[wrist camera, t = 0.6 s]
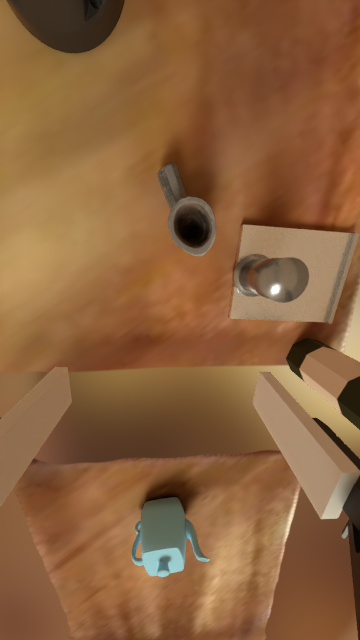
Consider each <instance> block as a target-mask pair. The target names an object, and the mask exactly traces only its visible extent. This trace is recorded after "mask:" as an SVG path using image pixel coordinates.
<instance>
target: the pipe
mask: <svg viewBox="0 0 360 640" xmlns="http://www.w3.org/2000/svg"><path fill="white" fill-rule="evenodd" d="M157 176H158V179H159V182H160V184H161V187H162V189H163V192H164V194H165V197H166V199H167V202H168V204H169V207H170V209H171V212H170V214H169V218H168V228H169V232H170V234H171V237H172V239H173V241H174V242H175V243H176V245H177V246H178V247H179V248H181V249H182V250H184V251H185V252H187V253H189V254H191V255H194V256H198V257H199V256H203V255H204V254H205V253H206V252H207V251H208V250H209V249H210V248H211V246H212V245H213V243H214V240H215V236H216V220H215V216H214V213H213V211H212V209H211V207H210V206H209V205H208V203H207V202H205V201H204V200H202V199H200V198H198V197H187V196H186V193H185V190H184V187H183V183H182V180H181V177H180V174H179V170H178V167H177V164H176V163H169V164H167V165H165V166H164V167H163V168H161V169H160V170H159V172H158V173H157Z"/></svg>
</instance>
